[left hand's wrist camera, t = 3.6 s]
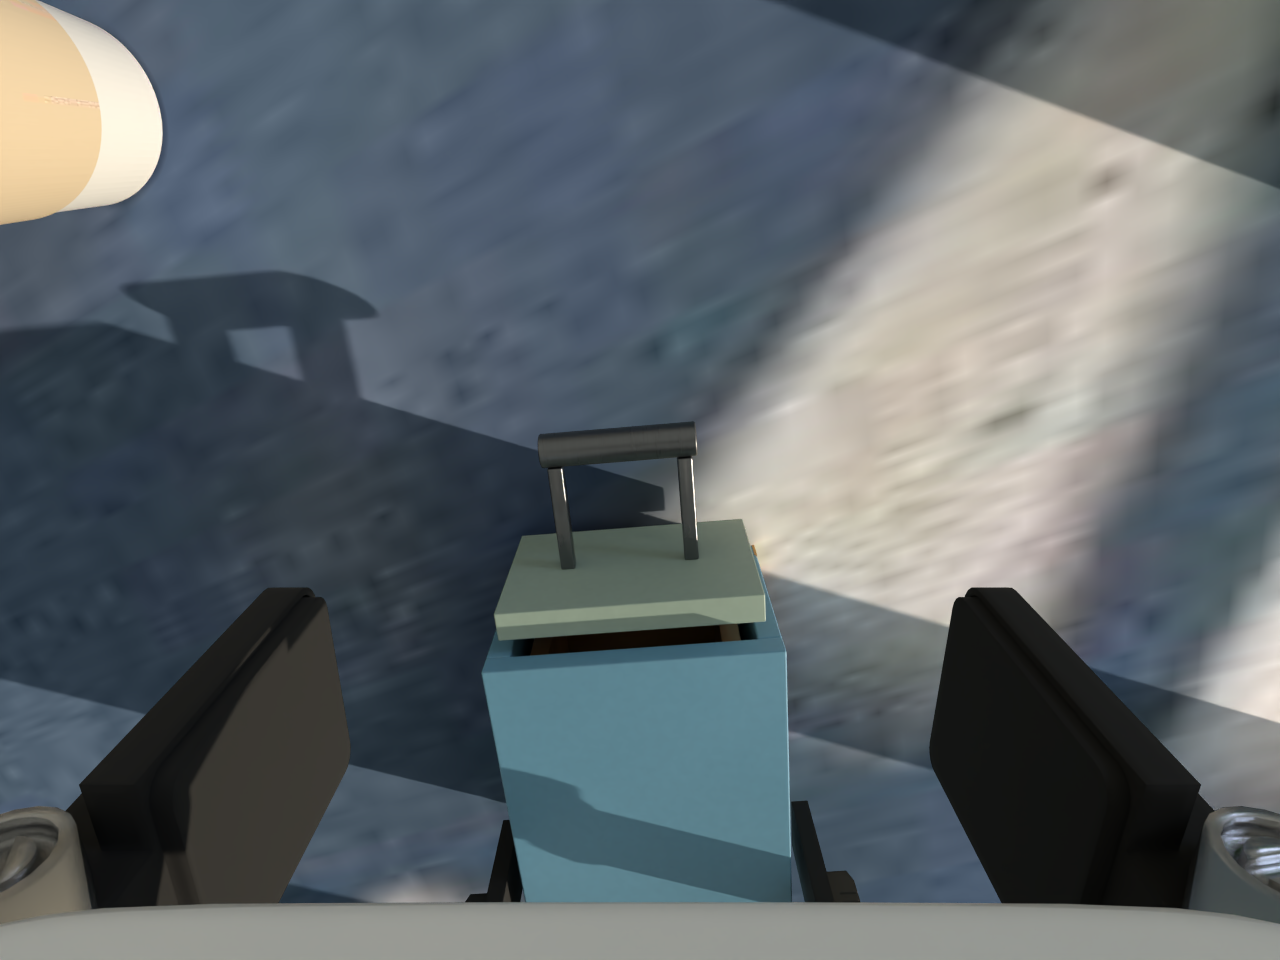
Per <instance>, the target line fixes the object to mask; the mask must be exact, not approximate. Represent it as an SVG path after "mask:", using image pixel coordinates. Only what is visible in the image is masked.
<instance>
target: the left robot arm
mask: <svg viewBox="0 0 1280 960" xmlns="http://www.w3.org/2000/svg"><path fill="white" fill-rule="evenodd" d="M350 748H351V747H350V739H349V733H348V727H347V721H346V715H345V709H344V703H343V697H342V691H341V686H340V680H339V674H338V668H337V662H336V656H335V650H334V644H333V638H332V633H331V627H330V621H329V615H328V609H327V605H326V602H325V600H324V599H323V598H322V597H315V595H314V593H313V591H312V590H311V589H310V588H267V589H266V590H264V591H263V592H262V593H261V594H260V595H259V597H258V598H257V599H256V600H255V601H254V602H253V603H252V604H251V605H250V606H249V607H248V608H247V609H246V610H245V611H244V612H243V613H242V614H241V615H240V616H239V617H238V619H237V620H236V621H235V622H234V623H233V624H232V625H231V626H230V627H229V628H228V629H227V630H226V631H225V632H224V633H223V634H222V635H221V636H220V637H219V638H218V640H217V641H216V642H215V643H214V644H213V645H212V646H211V647H210V648H209V649H208V650H207V651H206V652H205V653H204V654H203V655H202V656H201V657H200V658H199V659H198V661H197V662H196V663H195V664H194V665H193V666H192V667H191V668H190V669H189V670H188V671H187V672H186V673H185V674H184V675H183V676H182V677H181V678H180V679H179V680H178V682H177V683H176V684H175V685H174V686H173V687H172V688H171V689H170V690H169V691H168V692H167V693H166V694H165V695H164V696H163V697H162V698H161V699H160V700H159V701H158V703H157V704H156V705H155V706H154V707H153V708H152V709H151V710H150V711H149V712H148V713H147V714H146V715H145V716H144V717H143V718H142V719H141V720H140V721H139V722H138V724H137V725H136V726H135V727H134V728H133V729H132V730H131V731H130V732H129V733H128V734H127V735H126V736H125V737H124V738H123V739H122V740H121V741H120V742H119V743H118V745H117V746H116V747H115V748H114V749H113V750H112V751H111V752H110V753H109V754H108V755H107V756H106V757H105V758H104V759H103V760H102V761H101V762H100V763H99V764H98V765H97V767H96V768H95V769H94V770H93V771H92V772H91V773H90V774H89V775H88V776H87V777H86V778H85V779H84V780H83V781H82V782H81V783H80V784H79V786H80V789H81V792H82V794H81V795H80V796H79V797H78V798H77V799H76V800H75V801H74V802H73V803H72V805H71V806H70V807H69V808H68V809H67V810H66V811H64V810H62V809H59V808H57V807H42V806H37V807H30V808H23V809H17V810H13V811H10V812H6V813H3V814H0V960H1280V814H1277V813H1274V812H1270V811H1267V810H1263V809H1257V808H1250V807H1243V806H1238V807H1223V808H1221V809H1218V810H1216V811H1214V810H1213V809H1212V808H1211V807H1210V806H1209V805H1208V803H1207V802H1206V801H1205V800H1204V799H1203V798H1202V797H1201V796H1200V795H1199V794H1198V792H1199V789H1200V786H1201V784H1200V783H1199V782H1198V781H1197V780H1196V779H1195V778H1194V777H1193V776H1192V775H1191V774H1190V773H1189V772H1188V771H1187V770H1186V769H1185V768H1184V767H1183V765H1182V764H1181V763H1180V762H1179V761H1178V760H1177V759H1176V758H1175V757H1174V756H1173V755H1172V754H1171V753H1170V752H1169V751H1168V750H1167V749H1166V748H1165V747H1164V746H1163V745H1162V743H1161V742H1160V741H1159V740H1158V739H1157V738H1156V737H1155V736H1154V735H1153V734H1152V733H1151V732H1150V731H1149V730H1148V729H1147V728H1146V727H1145V726H1144V725H1143V724H1142V722H1141V721H1140V720H1139V719H1138V718H1137V717H1136V716H1135V715H1134V714H1133V713H1132V712H1131V711H1130V710H1129V709H1128V708H1127V707H1126V706H1125V705H1124V704H1123V703H1122V701H1121V700H1120V699H1119V698H1118V697H1117V696H1116V695H1115V694H1114V693H1113V692H1112V691H1111V690H1110V689H1109V688H1108V687H1107V686H1106V685H1105V684H1104V683H1103V682H1102V680H1101V679H1100V678H1099V677H1098V676H1097V675H1096V674H1095V673H1094V672H1093V671H1092V670H1091V669H1090V668H1089V667H1088V666H1087V665H1086V664H1085V663H1084V662H1083V661H1082V659H1081V658H1080V657H1079V656H1078V655H1077V654H1076V653H1075V652H1074V651H1073V650H1072V649H1071V648H1070V647H1069V646H1068V645H1067V644H1066V643H1065V642H1064V641H1063V640H1062V638H1061V637H1060V636H1059V635H1058V634H1057V633H1056V632H1055V631H1054V630H1053V629H1052V628H1051V627H1050V626H1049V625H1048V624H1047V623H1046V622H1045V621H1044V620H1043V619H1042V618H1041V616H1040V615H1039V614H1038V613H1037V612H1036V611H1035V610H1034V609H1033V608H1032V607H1031V606H1030V605H1029V604H1028V603H1027V602H1026V601H1025V600H1024V599H1023V598H1022V597H1021V595H1020V594H1019V593H1018V592H1017V591H1016V590H1014V589H1013V588H970V589H969V590H968V591H967V593H966V595H965V597H958V598H957V599H956V600H955V602H954V605H953V609H952V615H951V621H950V627H949V633H948V638H947V644H946V650H945V656H944V662H943V668H942V674H941V680H940V686H939V691H938V697H937V703H936V709H935V715H934V721H933V727H932V733H931V739H930V747H929V748H930V759H931V763H932V767H933V769H934V772H935V774H936V776H937V778H938V780H939V781H940V783H941V785H942V787H943V789H944V791H945V793H946V795H947V797H948V799H949V801H950V803H951V805H952V807H953V809H954V811H955V813H956V815H957V817H958V819H959V821H960V823H961V824H962V826H963V828H964V830H965V832H966V834H967V836H968V838H969V840H970V842H971V844H972V846H973V848H974V850H975V852H976V854H977V856H978V858H979V860H980V862H981V864H982V866H983V867H984V869H985V871H986V873H987V875H988V877H989V879H990V881H991V883H992V885H993V887H994V889H995V891H996V893H997V895H998V897H999V899H1000V901H1001V903H823V902H457V903H279V901H280V899H281V897H282V895H283V893H284V891H285V889H286V887H287V885H288V883H289V881H290V879H291V877H292V875H293V873H294V871H295V869H296V867H297V866H298V864H299V862H300V860H301V858H302V856H303V854H304V852H305V850H306V848H307V846H308V844H309V842H310V840H311V838H312V836H313V834H314V832H315V830H316V828H317V826H318V824H319V823H320V821H321V819H322V817H323V815H324V813H325V811H326V809H327V807H328V805H329V803H330V801H331V799H332V797H333V795H334V793H335V791H336V789H337V787H338V785H339V783H340V781H341V780H342V778H343V776H344V774H345V772H346V769H347V767H348V763H349V759H350Z"/></svg>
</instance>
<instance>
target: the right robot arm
mask: <svg viewBox="0 0 1280 960" xmlns="http://www.w3.org/2000/svg"><path fill="white" fill-rule="evenodd" d="M791 813H792V847H793V851H794V856H795V860H796V865H797V869H798V873H799V878H800V882H801V887H802V891H803V895H804V900H805V902H823V903H861V902H860V899H859V896H858V893H857V889H856V886H855V883H854V880H853V879H852V878H851V876H850V875H849V874H848V872H847V871H833V872H826V868H825V864H824V861H823V857H822V853H821V849H820V846H819V842H818V838H817V835H816V831H815V827H814V823H813V820H812V816H811V812H810V808H809V805H808V801H795V802H791ZM522 889H523V887H522V882H521V876H520V871H519V866H518V861H517V856H516V851H515V845H514V840H513V835H512V830H511V825H510V820H503V824H502V829H501V833H500V838H499V842H498V847H497V851H496V856H495V860H494V865H493V869H492V874H491V878H490V883H489V887H488V892H487V893H484V894H470V896H469V897H468V899H467V900H466V902H520V900H521V894H522Z"/></svg>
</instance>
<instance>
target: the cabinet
mask: <svg viewBox="0 0 1280 960" xmlns="http://www.w3.org/2000/svg"><path fill="white" fill-rule="evenodd" d="M750 547H751V550H752V553H753V557H754V560H755V563H756V567H757V570H758V573H759V577H760V580H761V583H762V587H763V590H764V593H765V611H766V621H764V622H750V623H738V627H739V632H740V637H741V641H727V642H713V643H699V644H686V645H672V646H658V647H644V648H630V649H616V650H602V651H588V652H574V653H560V654H546V655H532V656H530V655H531V651H532V647H533V643H534V639H535V638H530V639H516V640H502V641H499V640H498V635H497V630H496V632H495V635H494V638H493V640H492V643H491V646H490V649H489V652H488V655H487V658H486V661H485V664H484V667H483V669H482V672H481V674H482V680H483V685H484V690H485V695H486V700H487V705H488V711H489V716H490V721H491V726H492V731H493V737H494V742H495V747H496V752H497V757H498V762H499V768H500V773H501V778H502V783H503V788H504V794H505V799H506V804H507V809H508V814H509V819H510V825H511V830H512V835H513V840H514V845H515V851H516V856H517V861H518V866H519V871H520V876H521V882H522V887H523V892H524V897H525V902H792V888H791V841H790V794H789V748H788V701H787V654H786V649H785V645H784V642H783V639H782V636H781V633H780V630H779V627H778V623H777V620H776V617H775V614H774V611H773V607H772V604H771V601H770V598H769V594H768V591H767V588H766V585H765V582H764V578H763V575H762V572H761V569H760V565H759V562H758V559H757V554H756V550H755V547H754V545H752V546H750Z"/></svg>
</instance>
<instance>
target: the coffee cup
mask: <svg viewBox="0 0 1280 960" xmlns="http://www.w3.org/2000/svg"><path fill="white" fill-rule="evenodd" d="M161 146H162V120H161V113H160V109H159V105H158V101H157V98H156V95H155V92H154V90H153V88H152V85H151V83H150V81H149V79H148V77H147V76H146V74H145V72H144V70H143V69H142V67H141V66H140V64H139V63H138V62H137V60H136V59H135V58H134V56H133V55H132V54H131V53H130V52H129V51H128V50H127V49H126V48H125V47H124V46H123V45H122V44H121V43H120V42H119V41H118V40H117V39H116V38H114V37H113V36H112V35H110V34H109V33H108V32H106V31H105V30H103V29H101V28H100V27H98V26H96V25H94V24H92V23H90V22H88V21H85V20H83V19H81V18H78V17H76V16H74V15H71V14H69V13H66V12H64V11H62V10H59V9H57V8H55V7H52V6H50V5H48V4H45V3H43V2H41V1H38V0H0V225H1V224H8V223H14V222H20V221H27V220H33V219H38V218H42V217H45V216H48V215H51V214H53V213H55V212H62V211H69V210H76V209H83V208H90V207H97V206H105V205H110V204H114V203H118V202H120V201H123V200H125V199H127V198H129V197H130V196H132V195H133V194H135V193H136V192H137V191H139V190H140V189H141V188H142V187H143V186H144V185H145V183H146V182H147V181H148V180H149V178H150V177H151V175H152V173H153V171H154V170H155V167H156V165H157V162H158V159H159V156H160V152H161Z"/></svg>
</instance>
